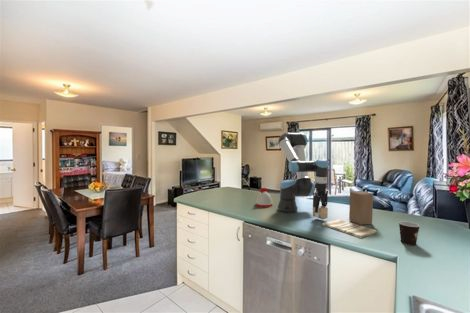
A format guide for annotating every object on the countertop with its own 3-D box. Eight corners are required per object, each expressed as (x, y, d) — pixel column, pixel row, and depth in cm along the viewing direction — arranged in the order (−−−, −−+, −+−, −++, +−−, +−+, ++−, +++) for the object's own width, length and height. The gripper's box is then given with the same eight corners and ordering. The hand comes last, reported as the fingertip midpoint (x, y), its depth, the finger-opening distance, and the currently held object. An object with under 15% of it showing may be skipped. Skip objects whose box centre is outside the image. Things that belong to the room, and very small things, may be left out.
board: (322, 225, 148) (322, 223, 148) (336, 220, 157) (337, 218, 157) (361, 238, 128) (361, 236, 128) (376, 232, 136) (376, 230, 136)
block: (360, 225, 148) (361, 194, 147) (348, 220, 158) (349, 191, 157) (372, 224, 151) (373, 193, 150) (360, 219, 160) (361, 190, 159)
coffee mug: (409, 239, 126) (410, 221, 126) (423, 246, 118) (424, 226, 117) (388, 239, 126) (389, 221, 125) (400, 246, 117) (401, 227, 117)
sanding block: (312, 216, 160) (312, 206, 160) (317, 214, 163) (317, 204, 162) (322, 219, 154) (323, 208, 153) (327, 218, 156) (327, 207, 156)
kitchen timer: (253, 203, 202) (253, 186, 201) (266, 202, 207) (266, 185, 207) (261, 207, 189) (261, 189, 188) (275, 206, 195) (275, 188, 194)
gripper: (317, 184, 148) (315, 220, 150) (334, 182, 158) (332, 215, 160) (307, 183, 155) (306, 217, 157) (324, 180, 165) (323, 212, 166)
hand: (319, 216), depth 158 cm, fingers closed on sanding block, 5 cm apart
